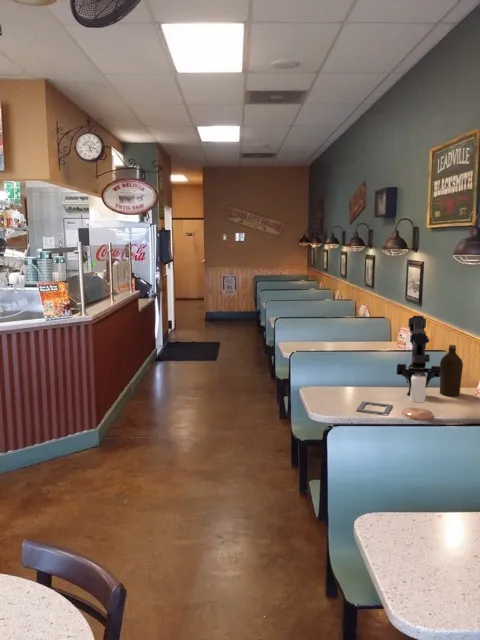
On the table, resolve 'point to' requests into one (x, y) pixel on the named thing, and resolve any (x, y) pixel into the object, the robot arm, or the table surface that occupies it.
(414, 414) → the plate
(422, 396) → the can
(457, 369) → the olive oil
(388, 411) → the gray square frame
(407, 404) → the table surface
